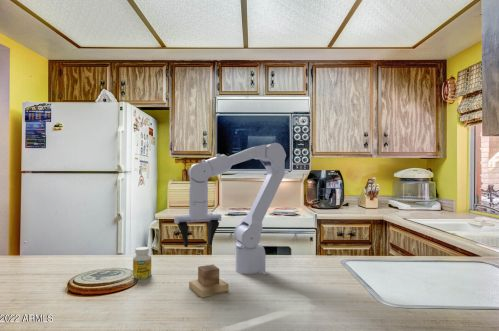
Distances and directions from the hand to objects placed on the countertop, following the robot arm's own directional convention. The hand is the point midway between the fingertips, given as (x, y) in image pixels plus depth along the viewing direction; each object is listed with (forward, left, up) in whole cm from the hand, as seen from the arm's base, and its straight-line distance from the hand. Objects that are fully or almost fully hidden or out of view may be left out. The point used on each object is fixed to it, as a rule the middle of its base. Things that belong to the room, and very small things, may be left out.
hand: (198, 245), depth 96 cm
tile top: (0, +12, -9) cm, 15 cm away
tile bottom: (0, +12, -11) cm, 16 cm away
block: (0, +12, -8) cm, 14 cm away
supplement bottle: (+16, -6, -11) cm, 20 cm away
